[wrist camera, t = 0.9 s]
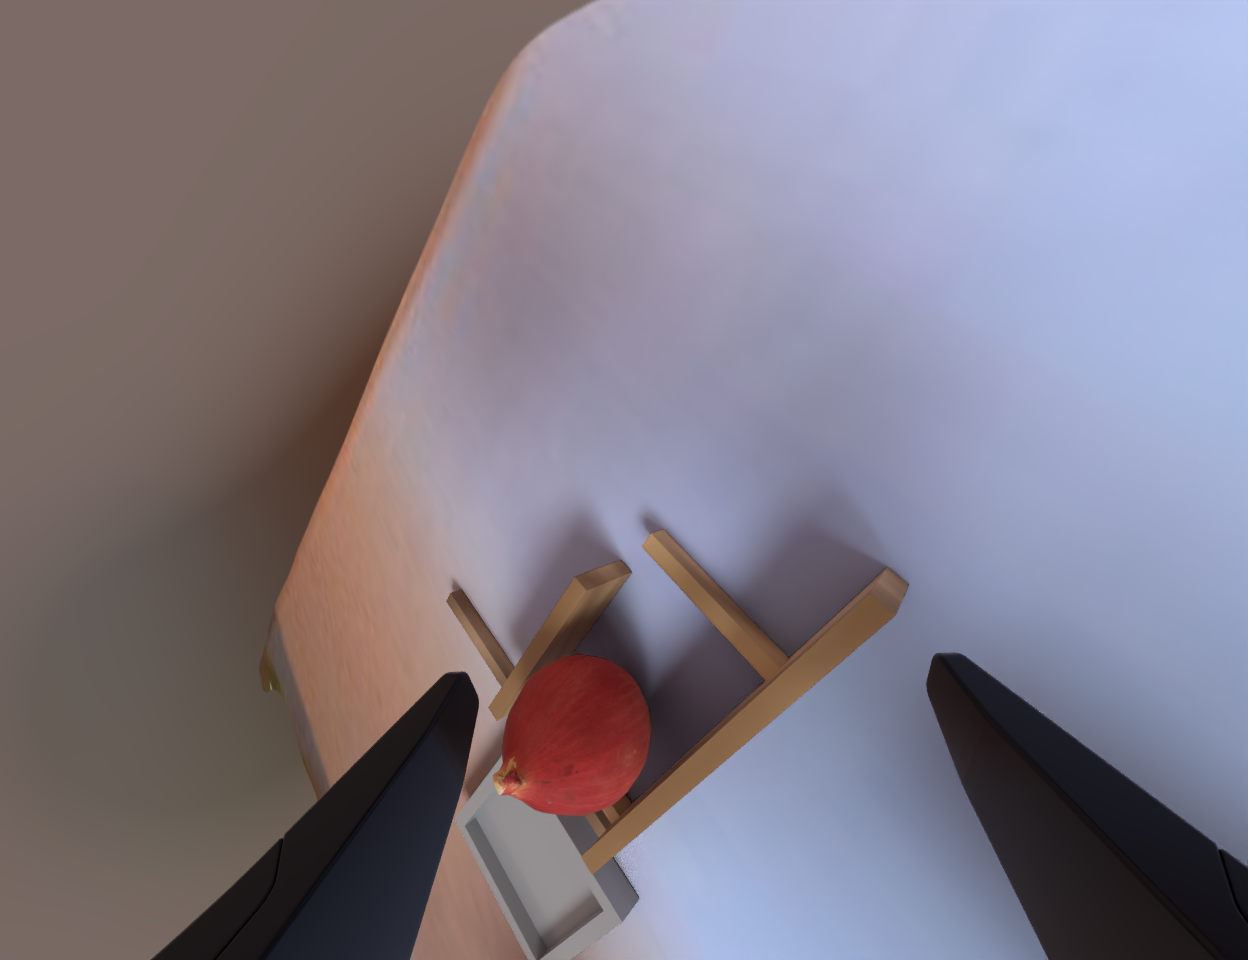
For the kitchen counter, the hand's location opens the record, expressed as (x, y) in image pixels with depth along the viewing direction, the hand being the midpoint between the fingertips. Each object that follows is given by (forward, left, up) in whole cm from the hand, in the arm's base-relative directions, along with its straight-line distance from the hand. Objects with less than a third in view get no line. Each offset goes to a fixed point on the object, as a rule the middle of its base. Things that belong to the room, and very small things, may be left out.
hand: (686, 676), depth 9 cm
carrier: (+2, +7, -10) cm, 12 cm away
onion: (+2, +11, -10) cm, 15 cm away
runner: (+6, +18, -10) cm, 21 cm away
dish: (0, +24, -10) cm, 26 cm away
